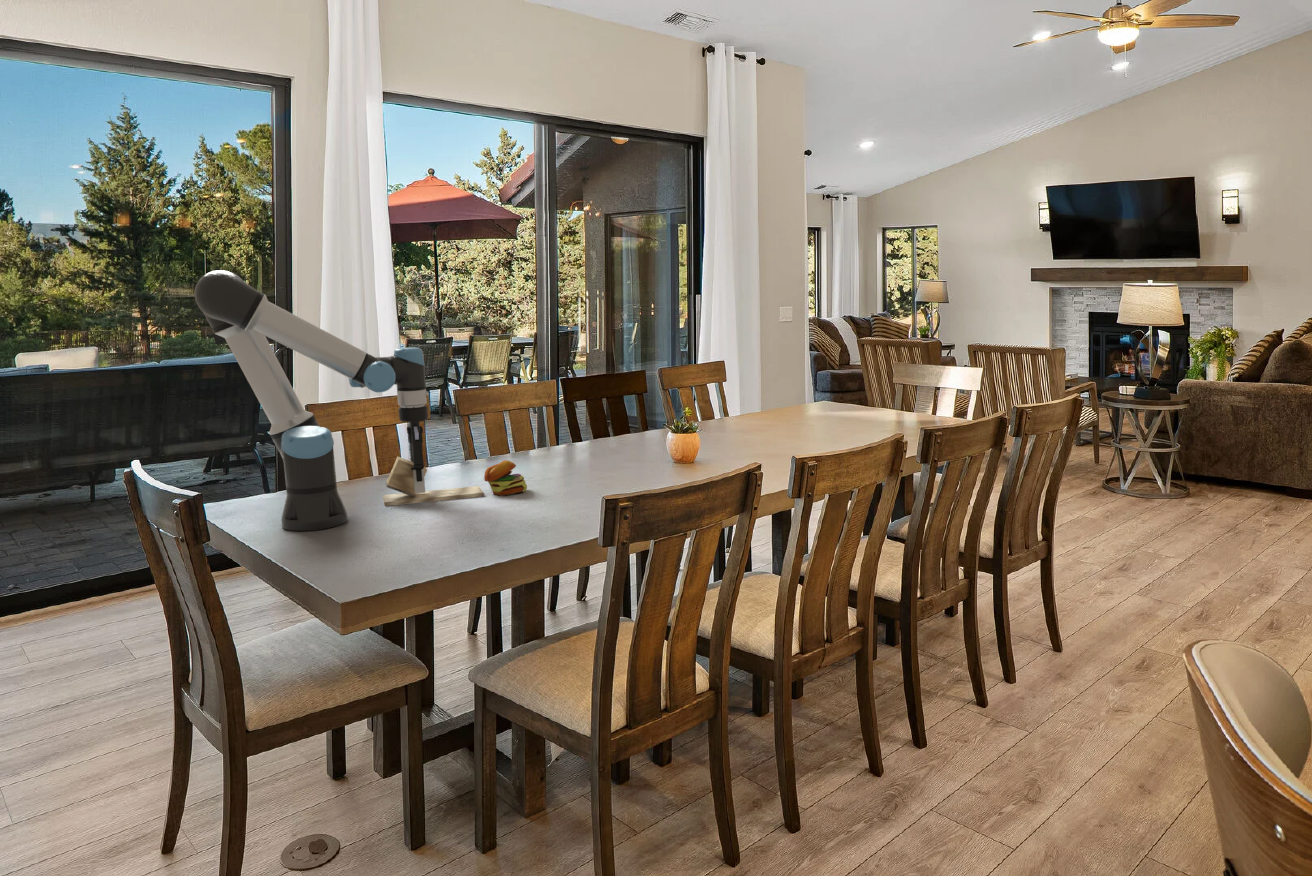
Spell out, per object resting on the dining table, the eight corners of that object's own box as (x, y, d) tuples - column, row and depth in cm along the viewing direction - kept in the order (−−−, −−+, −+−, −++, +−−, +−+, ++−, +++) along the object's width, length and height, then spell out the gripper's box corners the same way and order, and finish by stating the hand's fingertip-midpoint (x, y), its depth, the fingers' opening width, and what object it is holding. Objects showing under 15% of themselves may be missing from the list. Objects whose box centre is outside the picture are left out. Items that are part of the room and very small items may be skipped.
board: (384, 506, 243) (384, 502, 243) (383, 498, 251) (383, 495, 251) (483, 496, 251) (483, 492, 251) (479, 489, 259) (478, 485, 259)
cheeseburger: (525, 495, 250) (514, 460, 248) (488, 505, 251) (477, 471, 249) (530, 486, 260) (520, 453, 258) (495, 496, 261) (484, 463, 259)
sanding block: (386, 487, 244) (398, 459, 244) (385, 483, 249) (397, 456, 249) (415, 497, 247) (427, 470, 247) (413, 493, 252) (425, 466, 252)
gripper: (430, 408, 239) (436, 496, 242) (424, 400, 255) (430, 482, 259) (400, 410, 236) (407, 499, 240) (396, 402, 253) (402, 485, 257)
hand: (419, 490), depth 250 cm, fingers closed on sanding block, 5 cm apart
